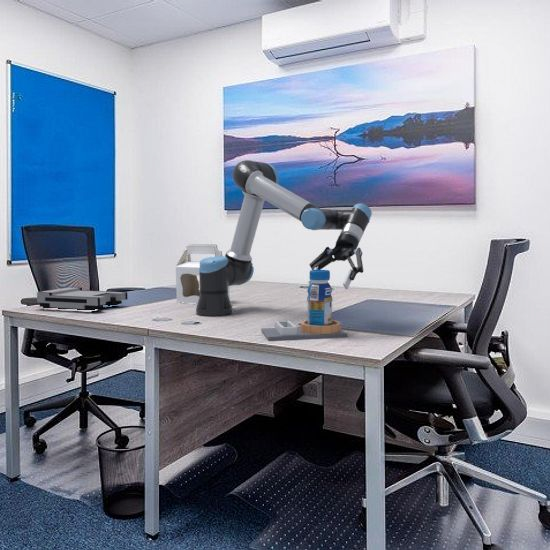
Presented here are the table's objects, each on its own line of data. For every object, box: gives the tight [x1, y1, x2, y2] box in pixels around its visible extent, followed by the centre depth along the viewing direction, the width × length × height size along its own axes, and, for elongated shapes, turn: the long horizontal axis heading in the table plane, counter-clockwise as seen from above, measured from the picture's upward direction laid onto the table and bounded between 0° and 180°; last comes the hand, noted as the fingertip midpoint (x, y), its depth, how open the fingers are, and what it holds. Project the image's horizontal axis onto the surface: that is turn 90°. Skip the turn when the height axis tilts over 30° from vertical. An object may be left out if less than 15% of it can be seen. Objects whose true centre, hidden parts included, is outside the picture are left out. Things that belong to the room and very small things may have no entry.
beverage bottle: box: [306, 269, 333, 326], centre depth 170 cm, size 8×8×20 cm
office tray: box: [36, 286, 128, 310], centre depth 229 cm, size 21×32×8 cm, turn 71°
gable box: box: [175, 243, 231, 305], centre depth 243 cm, size 22×13×28 cm, turn 64°
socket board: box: [260, 319, 348, 342], centre depth 170 cm, size 26×14×4 cm, turn 101°
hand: (327, 285), depth 172 cm, fingers open, 13 cm apart
